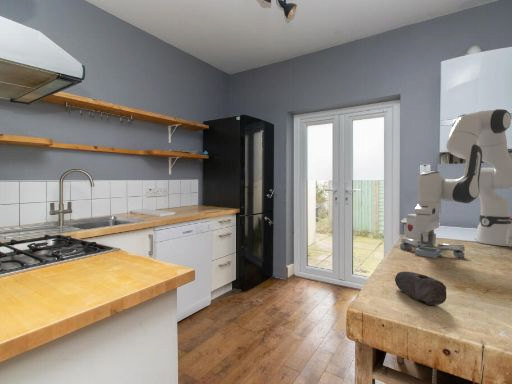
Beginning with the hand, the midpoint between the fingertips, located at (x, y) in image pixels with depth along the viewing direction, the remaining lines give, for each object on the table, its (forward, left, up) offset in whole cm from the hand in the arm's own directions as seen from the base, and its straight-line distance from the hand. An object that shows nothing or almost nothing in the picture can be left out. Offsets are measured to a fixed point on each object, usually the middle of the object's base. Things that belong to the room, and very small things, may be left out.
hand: (428, 240), depth 120 cm
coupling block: (0, 0, -2) cm, 2 cm away
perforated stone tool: (+40, +36, -7) cm, 54 cm away
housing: (0, 0, -6) cm, 6 cm away
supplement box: (-13, -18, -7) cm, 23 cm away
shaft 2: (-8, +4, -6) cm, 11 cm away
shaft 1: (+1, -9, -6) cm, 11 cm away
